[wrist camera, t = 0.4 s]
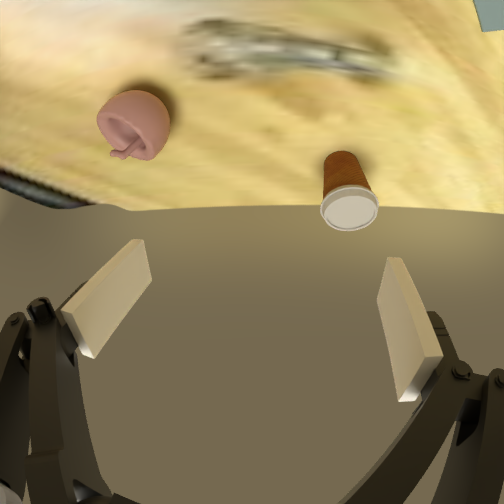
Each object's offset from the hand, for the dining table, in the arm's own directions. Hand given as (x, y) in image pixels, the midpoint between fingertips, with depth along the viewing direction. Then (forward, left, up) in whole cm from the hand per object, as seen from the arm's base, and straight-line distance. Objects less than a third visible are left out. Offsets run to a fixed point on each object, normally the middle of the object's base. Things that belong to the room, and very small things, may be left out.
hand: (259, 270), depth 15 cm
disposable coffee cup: (+24, 0, -34) cm, 41 cm away
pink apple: (-4, -22, -34) cm, 40 cm away
